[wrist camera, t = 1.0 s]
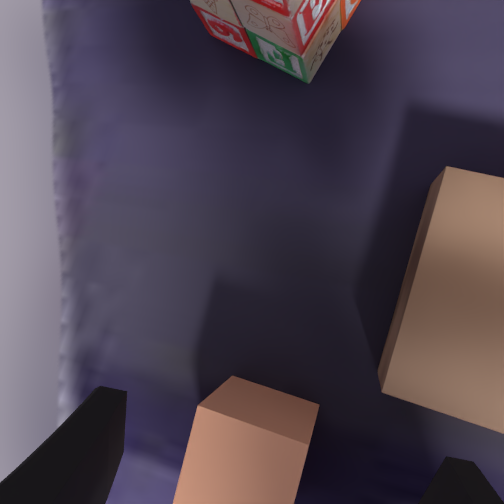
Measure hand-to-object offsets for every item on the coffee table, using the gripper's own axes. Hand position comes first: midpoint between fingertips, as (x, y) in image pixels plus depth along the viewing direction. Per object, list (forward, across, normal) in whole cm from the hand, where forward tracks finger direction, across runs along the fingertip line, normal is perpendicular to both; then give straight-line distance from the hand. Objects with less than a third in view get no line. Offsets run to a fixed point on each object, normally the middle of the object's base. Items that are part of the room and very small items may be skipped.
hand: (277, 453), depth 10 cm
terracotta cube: (+8, -1, +9) cm, 12 cm away
